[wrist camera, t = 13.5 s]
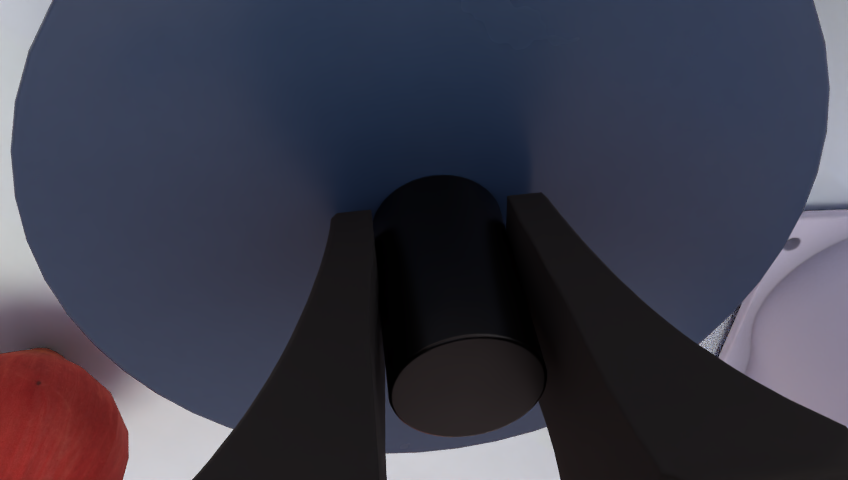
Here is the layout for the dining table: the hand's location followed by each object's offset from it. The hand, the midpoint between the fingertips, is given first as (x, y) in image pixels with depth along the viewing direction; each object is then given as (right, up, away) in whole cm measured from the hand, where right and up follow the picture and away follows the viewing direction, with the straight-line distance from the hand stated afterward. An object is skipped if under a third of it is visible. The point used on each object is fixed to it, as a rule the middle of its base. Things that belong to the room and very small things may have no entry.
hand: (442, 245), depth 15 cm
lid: (0, +1, +1) cm, 1 cm away
